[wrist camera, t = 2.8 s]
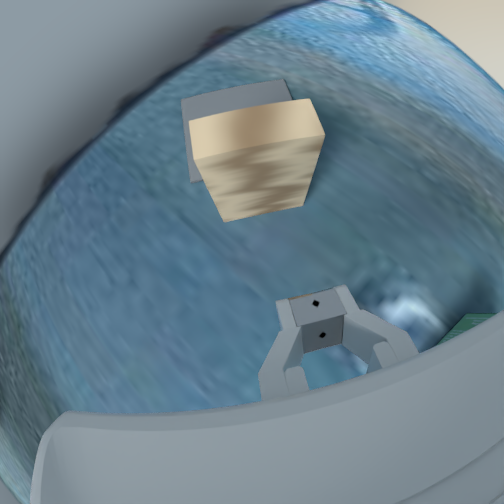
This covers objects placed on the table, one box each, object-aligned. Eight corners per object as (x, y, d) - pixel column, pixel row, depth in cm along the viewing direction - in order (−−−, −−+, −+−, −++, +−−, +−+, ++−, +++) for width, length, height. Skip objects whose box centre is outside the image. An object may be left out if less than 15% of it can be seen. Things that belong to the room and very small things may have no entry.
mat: (283, 80, 35) (283, 79, 35) (313, 158, 32) (314, 156, 32) (181, 101, 35) (180, 99, 35) (191, 183, 32) (190, 181, 32)
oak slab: (294, 178, 32) (309, 98, 18) (302, 205, 31) (325, 134, 18) (218, 194, 32) (188, 121, 18) (224, 222, 31) (193, 159, 18)
